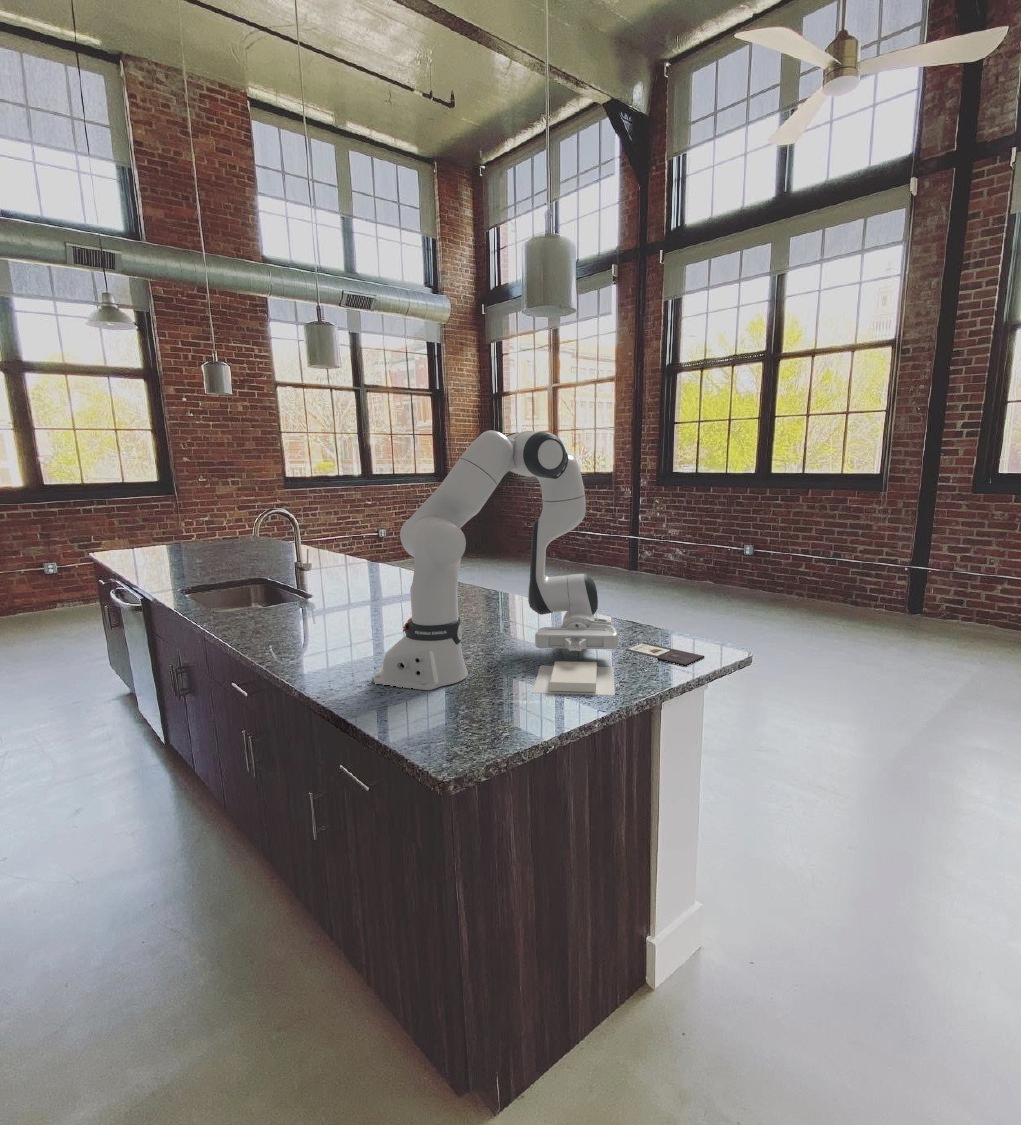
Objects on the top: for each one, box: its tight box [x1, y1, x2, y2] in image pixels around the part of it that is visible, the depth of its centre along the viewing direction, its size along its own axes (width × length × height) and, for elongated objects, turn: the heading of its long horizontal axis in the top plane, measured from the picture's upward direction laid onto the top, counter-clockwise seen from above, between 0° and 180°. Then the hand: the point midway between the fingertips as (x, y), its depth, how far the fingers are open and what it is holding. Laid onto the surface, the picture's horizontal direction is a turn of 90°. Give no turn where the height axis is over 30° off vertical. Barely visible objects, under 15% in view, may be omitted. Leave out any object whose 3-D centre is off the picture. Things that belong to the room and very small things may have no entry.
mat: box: [531, 665, 616, 696], centre depth 139 cm, size 18×18×1 cm
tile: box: [550, 661, 598, 692], centre depth 137 cm, size 10×2×14 cm
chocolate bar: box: [625, 642, 705, 667], centre depth 156 cm, size 9×1×18 cm
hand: (574, 647), depth 141 cm, fingers closed
